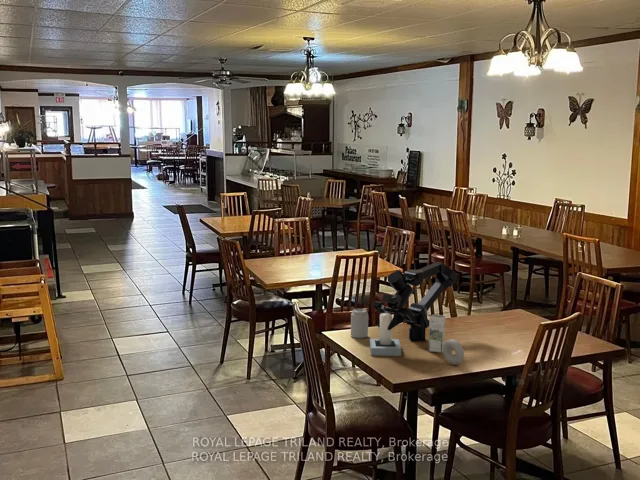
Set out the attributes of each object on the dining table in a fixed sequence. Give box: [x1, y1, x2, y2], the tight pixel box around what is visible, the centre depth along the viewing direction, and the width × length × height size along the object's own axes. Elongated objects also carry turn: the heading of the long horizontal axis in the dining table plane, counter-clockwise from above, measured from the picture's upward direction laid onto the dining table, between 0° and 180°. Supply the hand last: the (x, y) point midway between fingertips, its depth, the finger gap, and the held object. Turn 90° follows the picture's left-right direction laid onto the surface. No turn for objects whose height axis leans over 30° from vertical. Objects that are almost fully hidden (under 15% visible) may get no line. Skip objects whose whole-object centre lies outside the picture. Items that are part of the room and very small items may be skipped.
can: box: [350, 308, 369, 340], centre depth 277 cm, size 8×8×12 cm
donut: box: [442, 338, 465, 366], centre depth 243 cm, size 10×4×10 cm, turn 33°
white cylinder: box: [379, 312, 393, 345], centre depth 258 cm, size 5×5×12 cm
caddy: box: [369, 338, 402, 357], centre depth 259 cm, size 12×12×3 cm
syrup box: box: [428, 314, 446, 354], centre depth 259 cm, size 6×6×14 cm
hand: (383, 328), depth 257 cm, fingers closed on white cylinder, 5 cm apart
